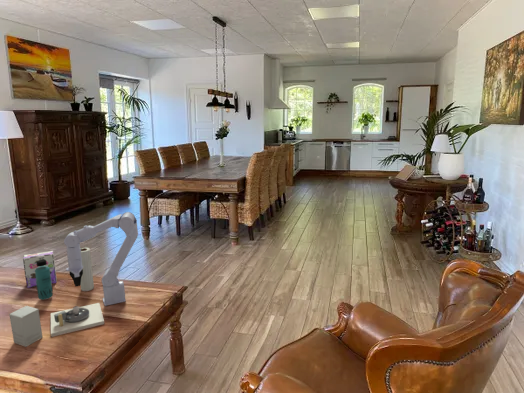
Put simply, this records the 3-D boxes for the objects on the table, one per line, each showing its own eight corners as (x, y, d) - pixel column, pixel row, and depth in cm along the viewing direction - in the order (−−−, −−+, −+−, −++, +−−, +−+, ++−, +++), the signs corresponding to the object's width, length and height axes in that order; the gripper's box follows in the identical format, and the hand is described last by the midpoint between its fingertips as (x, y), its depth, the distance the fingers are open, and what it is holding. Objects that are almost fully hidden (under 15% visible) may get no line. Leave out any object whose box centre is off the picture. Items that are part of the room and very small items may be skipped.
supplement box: (43, 337, 153) (39, 308, 150) (25, 347, 146) (21, 317, 143) (31, 333, 156) (26, 305, 153) (13, 342, 149) (8, 313, 146)
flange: (82, 308, 172) (81, 299, 171) (93, 315, 166) (92, 306, 165) (51, 320, 162) (50, 311, 161) (61, 328, 156) (60, 319, 155)
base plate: (99, 305, 178) (98, 292, 176) (104, 324, 162) (102, 310, 161) (51, 316, 168) (49, 302, 167) (51, 336, 153) (49, 322, 152)
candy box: (26, 288, 195) (22, 258, 192) (27, 283, 200) (23, 254, 197) (56, 282, 201) (53, 253, 198) (56, 278, 206) (53, 250, 203)
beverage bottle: (35, 301, 182) (29, 262, 178) (47, 295, 188) (42, 257, 184) (44, 303, 180) (39, 264, 175) (57, 297, 186) (52, 259, 181)
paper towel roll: (88, 292, 191) (84, 252, 186) (78, 290, 193) (73, 250, 188) (98, 286, 198) (94, 247, 193) (88, 284, 199) (84, 246, 195)
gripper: (64, 254, 179) (67, 281, 181) (65, 265, 166) (68, 294, 169) (80, 252, 182) (83, 278, 185) (83, 262, 169) (86, 290, 172)
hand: (77, 285), depth 177 cm, fingers closed
